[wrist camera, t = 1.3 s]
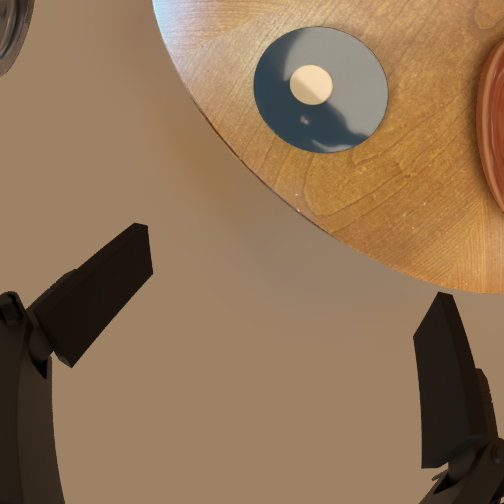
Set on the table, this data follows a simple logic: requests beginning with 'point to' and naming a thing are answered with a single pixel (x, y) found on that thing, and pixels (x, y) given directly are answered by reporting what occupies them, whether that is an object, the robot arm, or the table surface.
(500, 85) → the saucer
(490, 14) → the table surface
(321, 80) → the lid
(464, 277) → the table surface
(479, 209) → the table surface
